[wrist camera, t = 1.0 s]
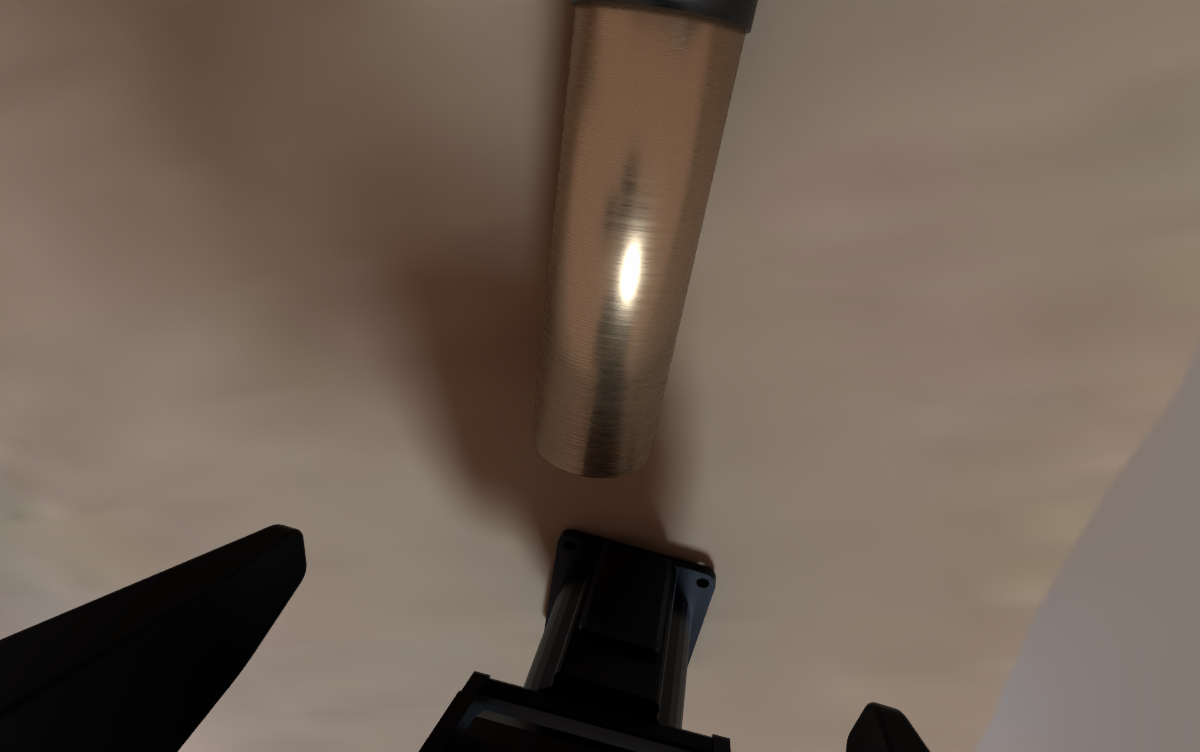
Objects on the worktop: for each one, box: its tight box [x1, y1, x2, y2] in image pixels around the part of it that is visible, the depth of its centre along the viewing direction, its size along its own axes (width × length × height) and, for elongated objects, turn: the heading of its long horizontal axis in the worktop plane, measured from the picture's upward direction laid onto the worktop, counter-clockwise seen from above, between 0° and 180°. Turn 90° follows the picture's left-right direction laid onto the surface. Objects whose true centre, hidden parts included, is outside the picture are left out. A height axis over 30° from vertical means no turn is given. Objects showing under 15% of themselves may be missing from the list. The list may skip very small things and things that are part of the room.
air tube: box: [532, 0, 758, 478], centre depth 15 cm, size 16×4×4 cm
